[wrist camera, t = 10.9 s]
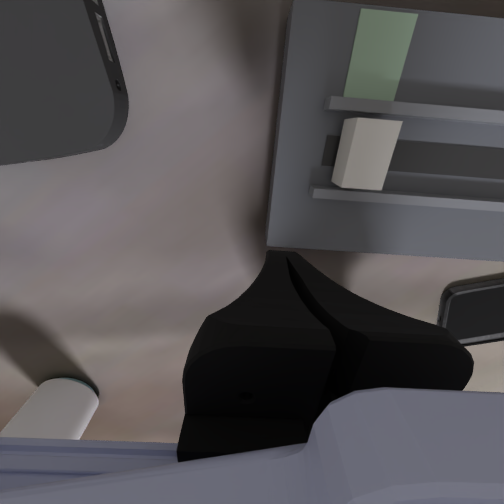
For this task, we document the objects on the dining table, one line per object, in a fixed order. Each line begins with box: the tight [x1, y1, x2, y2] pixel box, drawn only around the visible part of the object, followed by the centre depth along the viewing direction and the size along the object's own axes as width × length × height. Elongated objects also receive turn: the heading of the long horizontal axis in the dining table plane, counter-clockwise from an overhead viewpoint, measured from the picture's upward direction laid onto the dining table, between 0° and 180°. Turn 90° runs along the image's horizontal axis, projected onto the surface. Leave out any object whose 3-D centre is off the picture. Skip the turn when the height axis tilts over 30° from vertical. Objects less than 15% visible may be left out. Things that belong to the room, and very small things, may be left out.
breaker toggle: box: [331, 118, 403, 190], centre depth 14 cm, size 4×2×2 cm, turn 176°
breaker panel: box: [265, 0, 504, 262], centre depth 16 cm, size 14×22×4 cm, turn 86°
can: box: [0, 378, 99, 440], centre depth 25 cm, size 7×7×12 cm
